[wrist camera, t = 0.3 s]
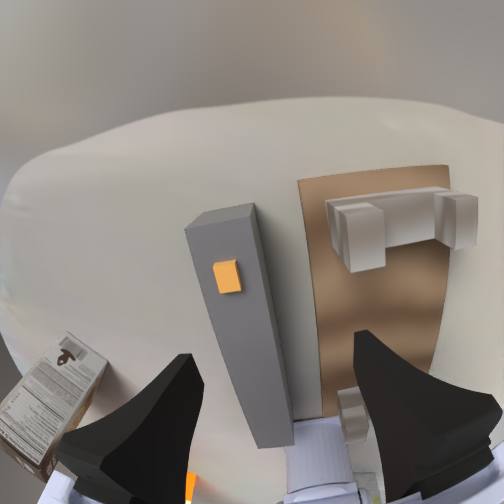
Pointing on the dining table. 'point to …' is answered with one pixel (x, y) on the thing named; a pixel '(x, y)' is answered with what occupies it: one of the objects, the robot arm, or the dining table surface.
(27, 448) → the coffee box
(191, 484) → the orange juice
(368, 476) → the light bulb box
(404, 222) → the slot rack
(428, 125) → the dining table surface
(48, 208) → the dining table surface
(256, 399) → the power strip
